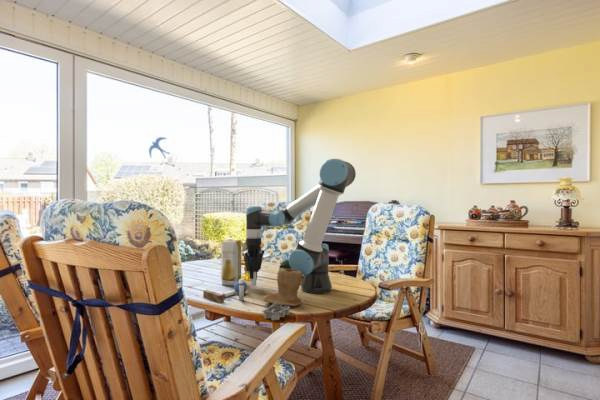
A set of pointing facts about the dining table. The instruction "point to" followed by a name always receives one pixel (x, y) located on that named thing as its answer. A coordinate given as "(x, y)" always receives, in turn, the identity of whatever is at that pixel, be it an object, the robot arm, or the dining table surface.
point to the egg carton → (273, 309)
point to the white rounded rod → (241, 289)
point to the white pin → (229, 293)
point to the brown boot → (286, 288)
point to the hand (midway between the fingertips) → (253, 285)
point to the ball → (238, 286)
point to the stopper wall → (213, 296)
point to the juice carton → (230, 261)
